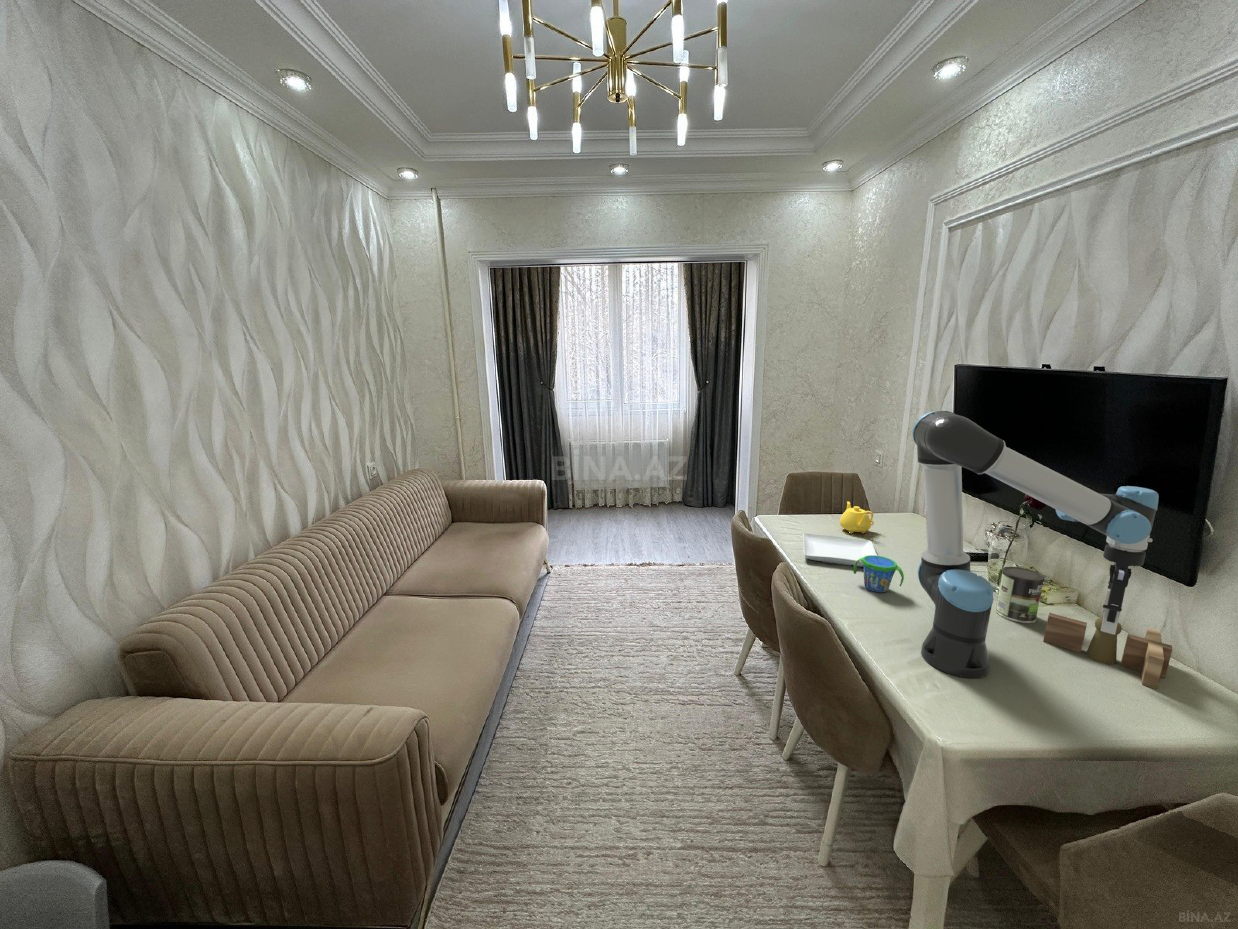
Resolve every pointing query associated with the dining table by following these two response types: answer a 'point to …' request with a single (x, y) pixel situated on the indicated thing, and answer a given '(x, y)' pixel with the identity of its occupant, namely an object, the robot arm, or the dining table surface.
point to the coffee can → (1019, 594)
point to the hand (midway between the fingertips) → (1108, 622)
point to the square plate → (836, 549)
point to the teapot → (856, 519)
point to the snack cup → (878, 572)
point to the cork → (1103, 644)
